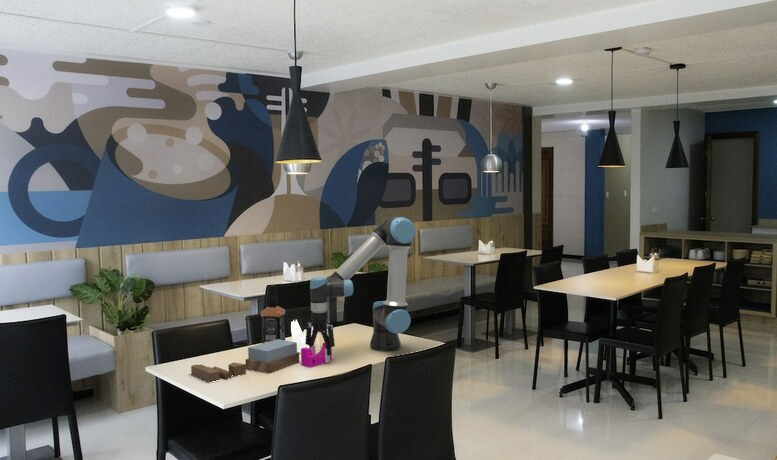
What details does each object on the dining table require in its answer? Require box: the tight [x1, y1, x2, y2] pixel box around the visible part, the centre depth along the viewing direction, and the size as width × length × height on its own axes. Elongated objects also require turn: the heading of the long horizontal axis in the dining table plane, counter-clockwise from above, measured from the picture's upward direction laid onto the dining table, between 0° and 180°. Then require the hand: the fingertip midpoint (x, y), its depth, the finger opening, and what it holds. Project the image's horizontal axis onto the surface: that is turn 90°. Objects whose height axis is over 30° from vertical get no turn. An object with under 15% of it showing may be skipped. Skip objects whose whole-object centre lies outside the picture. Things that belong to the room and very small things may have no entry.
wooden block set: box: [190, 362, 247, 383], centre depth 275 cm, size 17×6×18 cm
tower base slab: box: [244, 352, 300, 374], centre depth 288 cm, size 14×20×5 cm
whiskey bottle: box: [260, 284, 286, 344], centre depth 314 cm, size 10×10×32 cm
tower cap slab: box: [247, 339, 298, 363], centre depth 287 cm, size 12×18×5 cm, turn 143°
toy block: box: [300, 342, 333, 368], centre depth 291 cm, size 15×6×8 cm, turn 137°
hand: (320, 361), depth 292 cm, fingers closed on toy block, 7 cm apart
